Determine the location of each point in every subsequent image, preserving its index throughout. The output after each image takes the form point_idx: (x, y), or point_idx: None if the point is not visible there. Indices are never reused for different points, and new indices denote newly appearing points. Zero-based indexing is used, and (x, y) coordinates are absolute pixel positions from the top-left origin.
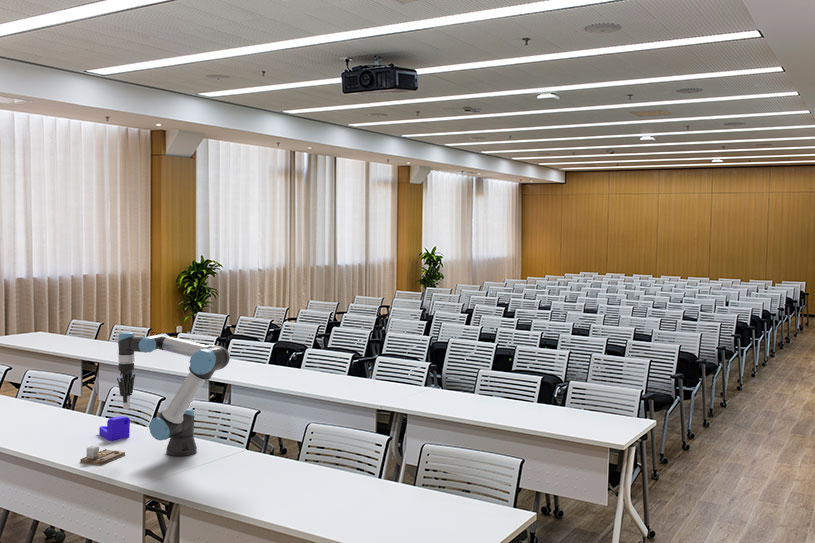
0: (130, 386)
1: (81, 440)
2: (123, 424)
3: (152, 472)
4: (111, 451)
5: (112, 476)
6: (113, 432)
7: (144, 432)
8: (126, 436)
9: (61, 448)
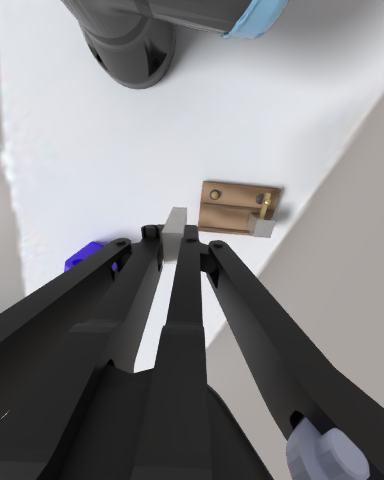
0: (119, 277)
1: None
2: None
3: (337, 6)
4: (205, 212)
5: (361, 114)
6: None
7: (47, 233)
8: (96, 245)
9: None
